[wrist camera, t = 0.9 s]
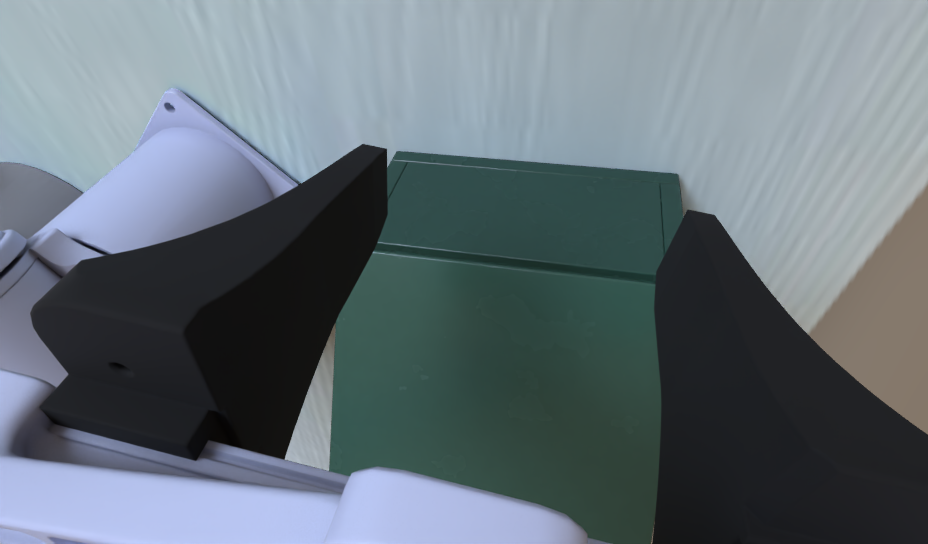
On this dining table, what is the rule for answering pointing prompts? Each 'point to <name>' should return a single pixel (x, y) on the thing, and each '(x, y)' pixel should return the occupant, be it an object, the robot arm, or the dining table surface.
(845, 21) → the dining table surface
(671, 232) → the bin
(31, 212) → the coffee mug
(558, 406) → the bin lid
